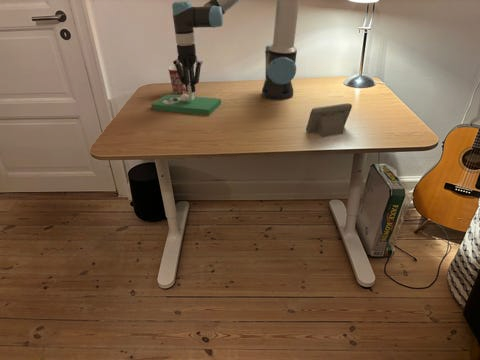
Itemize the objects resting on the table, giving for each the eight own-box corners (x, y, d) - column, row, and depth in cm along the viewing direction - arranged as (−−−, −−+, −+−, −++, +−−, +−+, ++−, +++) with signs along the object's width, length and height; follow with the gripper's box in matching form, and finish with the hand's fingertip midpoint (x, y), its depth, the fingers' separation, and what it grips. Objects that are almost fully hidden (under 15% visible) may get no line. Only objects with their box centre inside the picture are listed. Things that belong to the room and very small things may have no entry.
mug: (189, 97, 169) (186, 69, 162) (170, 98, 169) (166, 70, 162) (191, 89, 180) (188, 62, 173) (174, 89, 180) (170, 63, 173)
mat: (221, 104, 160) (221, 98, 159) (209, 115, 149) (208, 109, 148) (167, 99, 169) (166, 94, 167) (152, 109, 158) (151, 104, 156)
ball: (184, 100, 160) (190, 100, 158) (180, 103, 157) (187, 102, 155) (182, 93, 158) (188, 92, 157) (178, 95, 155) (185, 94, 154)
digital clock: (344, 125, 136) (348, 99, 130) (352, 135, 128) (356, 108, 122) (303, 128, 135) (305, 101, 129) (308, 138, 127) (311, 110, 122)
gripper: (203, 42, 144) (208, 97, 157) (175, 41, 148) (182, 95, 161) (196, 46, 138) (201, 103, 151) (167, 44, 142) (174, 100, 155)
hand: (191, 99), depth 156 cm, fingers closed
